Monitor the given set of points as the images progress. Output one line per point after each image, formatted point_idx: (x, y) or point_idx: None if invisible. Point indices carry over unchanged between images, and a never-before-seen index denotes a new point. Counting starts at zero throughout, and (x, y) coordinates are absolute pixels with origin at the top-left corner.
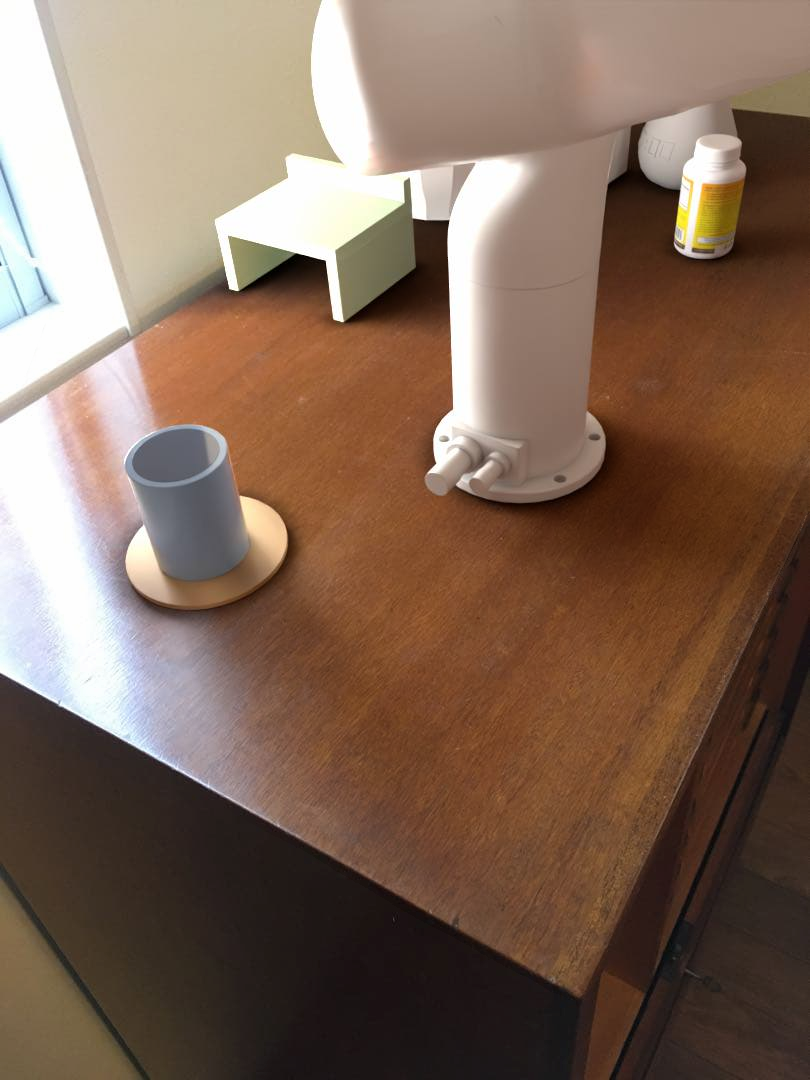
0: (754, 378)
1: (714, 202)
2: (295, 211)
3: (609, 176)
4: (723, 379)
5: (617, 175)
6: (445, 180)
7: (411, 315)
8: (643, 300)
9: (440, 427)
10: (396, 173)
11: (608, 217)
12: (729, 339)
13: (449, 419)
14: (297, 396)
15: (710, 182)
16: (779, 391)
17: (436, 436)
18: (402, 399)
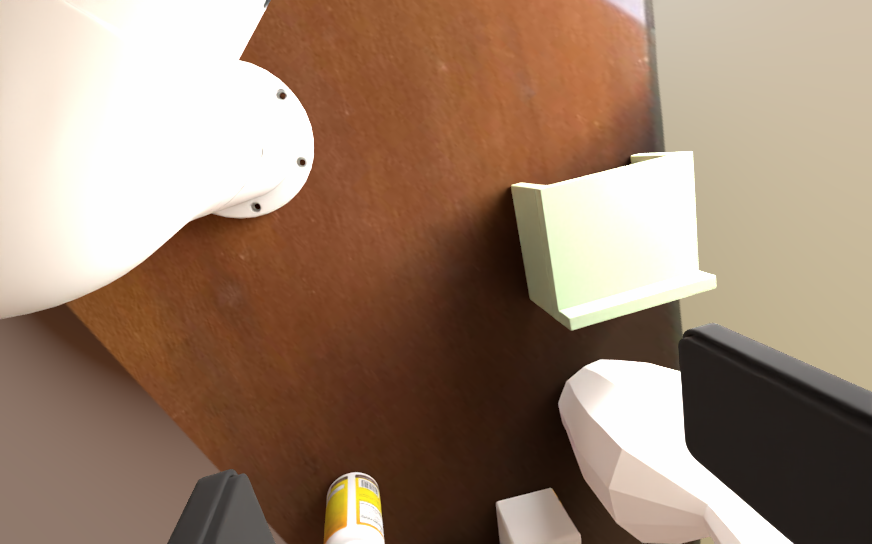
0: (172, 362)
1: (334, 519)
2: (636, 222)
3: (499, 527)
4: (190, 344)
5: (499, 536)
6: (581, 392)
7: (471, 237)
8: (331, 394)
9: (297, 105)
10: (627, 365)
11: (456, 478)
12: (231, 395)
13: (300, 120)
14: (449, 67)
15: (339, 530)
16: (143, 361)
17: (289, 92)
18: (373, 131)
